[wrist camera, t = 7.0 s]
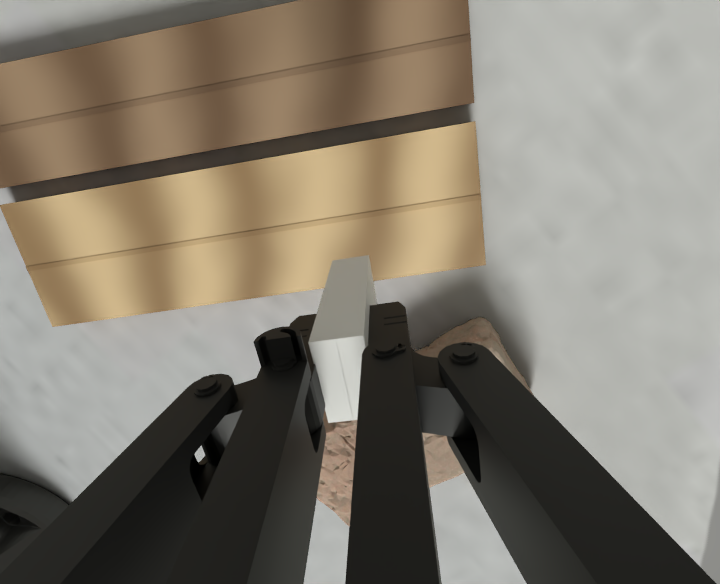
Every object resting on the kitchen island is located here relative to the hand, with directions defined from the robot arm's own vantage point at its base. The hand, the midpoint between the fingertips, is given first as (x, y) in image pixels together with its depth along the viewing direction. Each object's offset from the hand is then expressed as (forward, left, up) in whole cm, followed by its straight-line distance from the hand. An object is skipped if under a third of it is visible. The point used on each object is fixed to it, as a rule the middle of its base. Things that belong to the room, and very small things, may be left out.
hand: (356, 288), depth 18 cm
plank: (-7, +1, -9) cm, 12 cm away
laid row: (-7, +9, -10) cm, 15 cm away
